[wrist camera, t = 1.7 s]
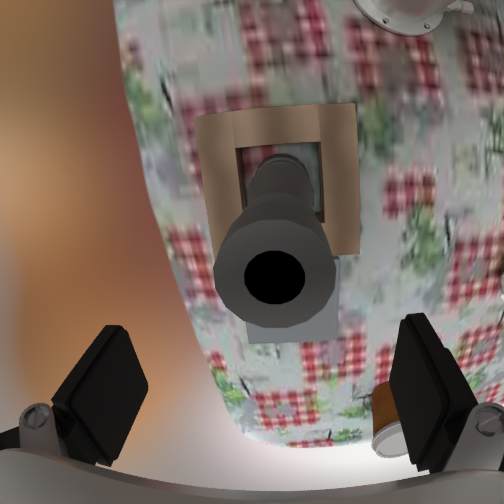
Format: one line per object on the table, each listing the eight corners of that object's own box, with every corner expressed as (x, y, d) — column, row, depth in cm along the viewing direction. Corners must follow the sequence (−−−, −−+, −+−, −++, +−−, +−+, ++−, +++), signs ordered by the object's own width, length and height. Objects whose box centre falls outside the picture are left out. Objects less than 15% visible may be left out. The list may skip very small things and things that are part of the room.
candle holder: (302, 208, 39) (322, 341, 16) (252, 199, 39) (202, 320, 16) (312, 158, 36) (358, 227, 13) (260, 149, 36) (214, 201, 13)
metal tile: (338, 256, 41) (338, 259, 40) (336, 336, 46) (336, 339, 45) (238, 262, 42) (237, 265, 42) (249, 340, 47) (248, 343, 47)
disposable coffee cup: (365, 378, 49) (377, 433, 38) (416, 370, 47) (436, 422, 36) (360, 411, 52) (368, 463, 41) (407, 404, 51) (421, 453, 40)
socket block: (347, 104, 33) (354, 103, 29) (353, 241, 40) (359, 253, 36) (203, 116, 35) (193, 116, 32) (221, 249, 42) (215, 262, 38)
